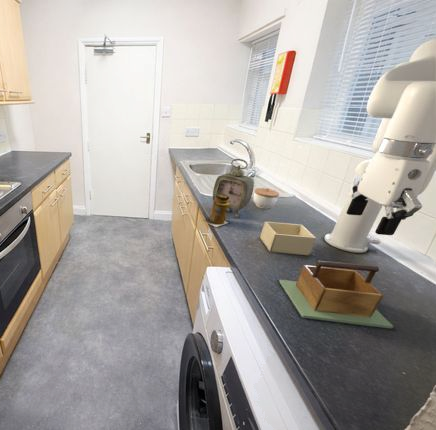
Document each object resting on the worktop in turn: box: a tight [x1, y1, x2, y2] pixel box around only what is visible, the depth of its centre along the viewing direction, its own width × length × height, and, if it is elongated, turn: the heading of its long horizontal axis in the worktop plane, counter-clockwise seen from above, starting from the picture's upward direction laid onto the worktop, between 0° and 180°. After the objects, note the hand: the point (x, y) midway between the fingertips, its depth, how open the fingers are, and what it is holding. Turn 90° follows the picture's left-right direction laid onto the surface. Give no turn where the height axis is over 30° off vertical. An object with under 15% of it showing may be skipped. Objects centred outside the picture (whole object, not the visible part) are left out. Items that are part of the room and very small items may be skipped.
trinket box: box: [252, 187, 280, 210], centre depth 129 cm, size 11×11×9 cm
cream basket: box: [259, 221, 317, 256], centre depth 95 cm, size 13×10×7 cm
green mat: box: [278, 279, 394, 329], centre depth 70 cm, size 20×14×1 cm
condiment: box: [202, 194, 229, 228], centre depth 111 cm, size 7×8×12 cm
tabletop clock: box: [212, 158, 255, 218], centre depth 118 cm, size 14×9×25 cm, turn 44°
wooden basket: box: [296, 260, 385, 318], centre depth 68 cm, size 13×10×12 cm
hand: (367, 223), depth 61 cm, fingers open, 9 cm apart
